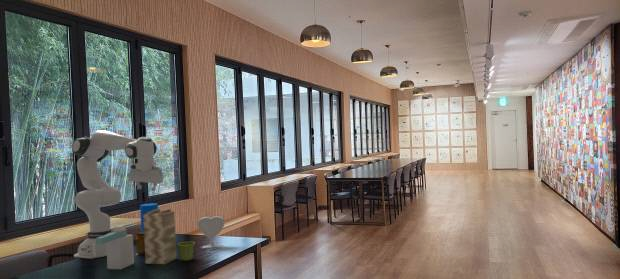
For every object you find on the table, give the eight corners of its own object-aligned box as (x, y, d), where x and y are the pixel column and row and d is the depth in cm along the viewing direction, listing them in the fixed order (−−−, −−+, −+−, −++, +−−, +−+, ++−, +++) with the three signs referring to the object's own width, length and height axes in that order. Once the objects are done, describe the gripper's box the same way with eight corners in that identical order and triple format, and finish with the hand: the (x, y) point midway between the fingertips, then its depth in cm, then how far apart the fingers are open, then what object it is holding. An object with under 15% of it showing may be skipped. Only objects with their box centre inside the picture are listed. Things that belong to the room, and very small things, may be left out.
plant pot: (194, 256, 254) (194, 240, 254) (196, 260, 245) (196, 244, 245) (177, 258, 251) (176, 242, 251) (178, 262, 242) (178, 246, 242)
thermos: (142, 242, 296) (140, 204, 296) (159, 240, 300) (157, 202, 299) (141, 245, 286) (139, 206, 286) (159, 244, 289) (157, 204, 289)
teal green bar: (95, 244, 224) (95, 233, 224) (120, 234, 245) (120, 224, 245) (102, 244, 224) (101, 233, 224) (126, 234, 244) (126, 224, 244)
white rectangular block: (107, 268, 236) (106, 239, 236) (121, 263, 246) (119, 234, 246) (121, 269, 234) (119, 239, 234) (134, 263, 244) (132, 234, 244)
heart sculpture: (198, 248, 273) (197, 218, 273) (199, 246, 278) (198, 217, 278) (224, 246, 275) (223, 216, 274) (225, 244, 280) (224, 215, 279)
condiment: (138, 252, 270) (137, 232, 270) (152, 251, 271) (151, 231, 271) (134, 255, 263) (133, 234, 263) (149, 254, 264) (148, 233, 264)
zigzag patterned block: (145, 263, 243) (143, 212, 243) (157, 258, 254) (154, 209, 253) (165, 264, 240) (163, 212, 240) (176, 258, 251) (174, 208, 251)
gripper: (165, 166, 257) (165, 190, 259) (134, 163, 263) (135, 187, 265) (158, 168, 251) (158, 192, 253) (127, 165, 257) (127, 189, 259)
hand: (146, 189), depth 259 cm, fingers open, 8 cm apart
